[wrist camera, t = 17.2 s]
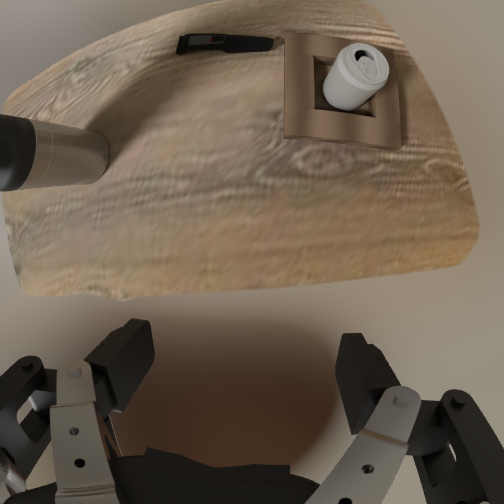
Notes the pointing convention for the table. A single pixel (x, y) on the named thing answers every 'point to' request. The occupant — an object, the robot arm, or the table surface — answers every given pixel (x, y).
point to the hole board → (329, 122)
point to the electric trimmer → (223, 43)
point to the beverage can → (355, 76)
